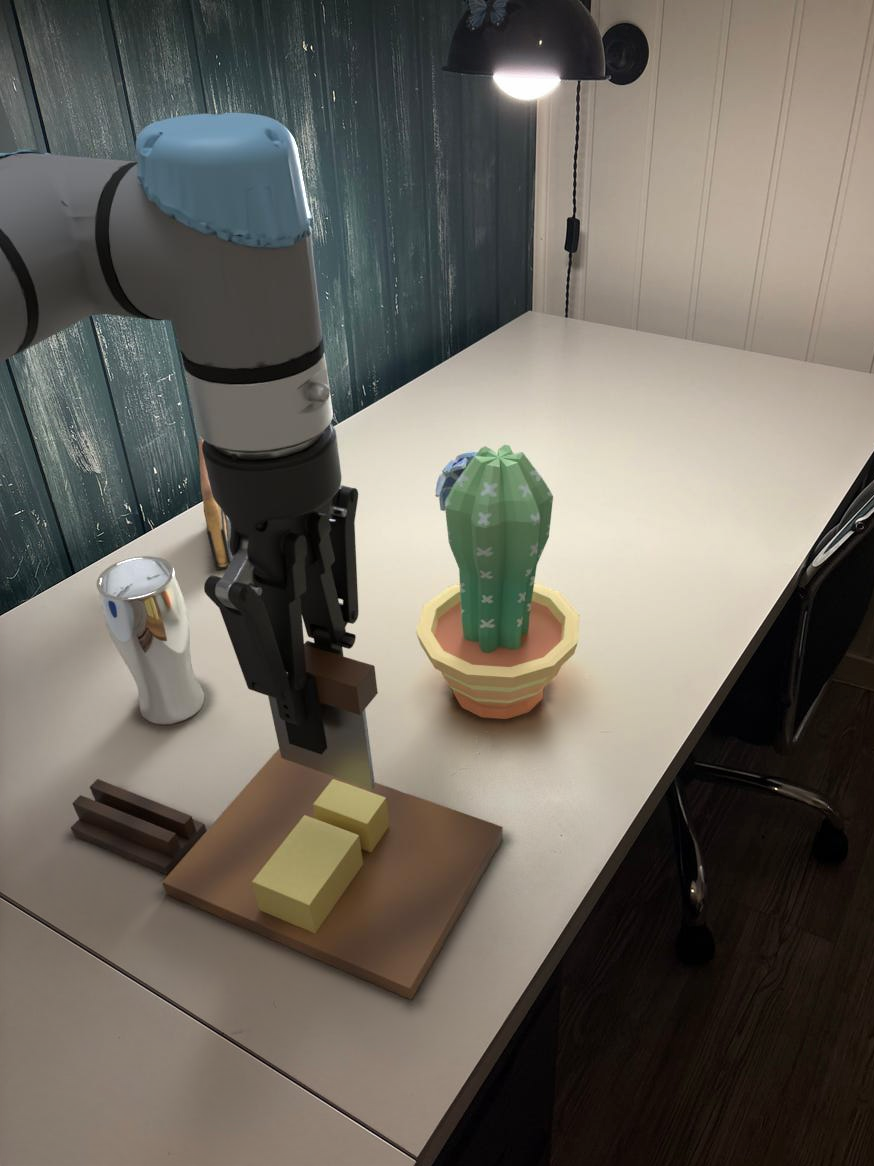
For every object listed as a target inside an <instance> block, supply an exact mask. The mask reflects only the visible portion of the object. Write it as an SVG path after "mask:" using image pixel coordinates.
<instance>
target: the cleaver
mask: <svg viewBox="0 0 874 1166" xmlns="http://www.w3.org/2000/svg"><path fill="white" fill-rule="evenodd" d="M304 650H305V663H306V675H307V676H311V677H314V678H316V684H317V690H318V696H319V702H320V707H321V713H322V718H323V724H324V730H325V736H326V742H327V749H326V750H325V751H324V753H323V754H322V755H321V754H318V753H315V752H312V751H309V750H306V749H304V748H301V747H298V746H295V745H292V744H289V740H288V735H287V730H286V725H285V721H284V720H282V719H281V718H280V716H279V710H278V707H277V706H278V705H277V702H276V698H274V697H271V696H268V695H267V697H268V701H269V702H268V703H269V706H270V711H271V717H272V720H273V725H274V731H275V735H276V739H277V744H278V749H280V754H281V758H283V759H286V760H288V761H291V762H294V763H297V764H300V765H303V766H306V767H308V768H311V769H314V770H317V771H320V772H323V773H326V774H328V775H331V776H334V777H337V778H340V779H343V780H345V781H348V782H351V783H354V784H357V785H360V786H363V787H365V788H368V789H371V790H373V789H374V787H375V782H376V781H375V775H374V768H373V759H372V752H371V744H370V736H369V727H368V722H367V721H368V720H367V713H366V708H367V707H368V706H369V704H370V703H371V702H372V701H373V700H374V698H375V697H376V696H377V695H378V693H379V692H378V684H377V675H376V668H375V665H373V664H370V663H366V662H364V661H360V660H357V659H354V658H350V657H346V656H344V655H343V656H340V655H337V654H334V653H330V652H327V651H324V650H320V649H317V648H313V647H310V646H307V645H304Z"/></svg>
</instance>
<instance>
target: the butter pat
mask: <svg viewBox="0 0 874 1166" xmlns="http://www.w3.org/2000/svg"><path fill="white" fill-rule="evenodd" d="M313 806H314V811H315V817H316V820H319V821H322V822H324V823H327V824H330V825H332V826H335V827H338V828H340V829H343V830H346V831H348V832H351V833H354V834H356V835H359V839H360V845H361V849H363V850H366V851H368V852H372V851H373V849H374V848H375V846H376V845H377V843H378V842H379V840H380V839H381V837H382V836H383V835H384V833H385V832H386V830H387V829H388V827H389V820H388V811H387V802H386V798H385V797H382V796H380V795H377V794H374V793H371V792H368V791H365V790H363V789H360V788H357V787H354V786H351V785H349V784H346V783H343V782H340V781H337V780H334V779H333V780H332V781H331V782H330V783H329V785H328V786H327V787H326V788H325V790H324V791H323V792H322V794H321V795H320V796H319V797H318V799H317V800H316V801H315V802H314V804H313Z"/></svg>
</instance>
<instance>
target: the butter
mask: <svg viewBox="0 0 874 1166" xmlns="http://www.w3.org/2000/svg"><path fill="white" fill-rule="evenodd" d="M362 865H363V859H362V852H361V845H360V839H359V835H356V834H354V833H351V832H348V831H346V830H343V829H340V828H338V827H335V826H332V825H330V824H327V823H324V822H322V821H319V820H316V819H314V818H311V817H308V816H306V815H304V816H303V818H302V819H301V820H300V821H299V823H298V824H297V825H296V826H295V828H294V829H293V830H292V831H291V833H290V834H289V835H288V837H287V838H286V839H285V840H284V842H283V843H282V844H281V845H280V847H279V848H278V849H277V851H276V852H275V853H274V854H273V856H272V857H271V858H270V859H269V861H268V862H267V863H266V864H265V866H264V867H263V868H262V870H261V871H260V872H259V873H258V875H257V876H256V877H255V878H254V880H253V881H252V884H253V887H254V891H255V895H256V899H257V902H258V906H259V910H260V911H263V912H265V913H268V914H270V915H272V916H275V917H277V918H279V919H282V920H284V921H286V922H289V923H291V924H294V925H296V926H298V927H301V928H303V929H305V930H308V931H310V932H312V933H316V932H317V930H318V929H319V927H320V926H321V924H322V923H323V922H324V920H325V919H326V917H327V916H328V914H329V913H330V911H331V910H332V909H333V907H334V906H335V904H336V903H337V901H338V900H339V898H340V897H341V895H342V894H343V893H344V891H345V890H346V888H347V887H348V885H349V884H350V882H351V881H352V880H353V878H354V877H355V875H356V874H357V872H358V871H359V869H360V868H361V867H362Z"/></svg>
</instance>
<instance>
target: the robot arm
mask: <svg viewBox="0 0 874 1166" xmlns="http://www.w3.org/2000/svg"><path fill="white" fill-rule="evenodd" d="M298 151H299V150H298V146H297V143H296V141H295V138H294V136H293V134H292V133H291V132H290V131H289V129H288V128H287V127H286V126H285V125H284V124H283V123H281V122H280V121H278V120H277V119H275V118H272V117H269V116H267V115H262V114H256V113H246V112H224V113H214V114H213V113H194V114H186V115H181V116H174V117H169V118H165V119H161V120H157V121H155V122H152V123H150V124H148V125H146V126H145V127H143V128H142V130H141V131H140V132H139V133H138V135H137V138H136V139H135V153H136V159H137V161H131V160H122V159H121V160H120V159H108V158H107V159H106V158H95V157H94V158H93V157H84V156H83V157H82V156H72V155H71V156H70V155H59V154H53V153H50V152H41V151H38V149H37V150H36V149H19V148H18V149H17V150H15V151H12V152H0V363H2V362H4V361H6V360H8V359H9V358H11V357H13V356H15V355H18V354H21V353H23V352H24V351H26V350H28V349H30V348H32V347H33V346H36V345H37V344H39V343H41V342H43V341H45V340H47V339H49V338H51V337H54V336H55V335H57V334H59V333H60V332H62V331H64V330H66V329H68V328H70V327H71V326H73V325H75V324H78V323H79V322H81V321H83V320H85V319H86V318H89V317H94V316H100V315H107V316H117V317H118V316H119V317H125V318H135V319H142V320H152V321H169V322H172V324H173V328H174V333H175V337H176V340H177V344H178V348H179V352H180V355H181V359H182V364H183V369H184V373H185V374H184V375H185V379H186V380H185V381H186V384H187V388H188V394H189V398H190V404H191V407H192V412H193V417H194V422H195V427H196V430H197V432H198V435H199V437H200V438H202V439H203V440H204V441H203V444H202V451H203V456H204V460H205V465H206V469H207V474H208V478H209V483H210V487H211V492H212V495H213V498H214V500H215V501H216V503H217V504H218V505H219V506H220V508H221V509H222V510H223V511H224V513H225V514H226V517H227V520H228V521H229V524H230V533H229V547H230V552H231V557H232V558H231V562H230V564H229V566H228V568H225V572H224V573H223V575H222V577H221V576H218V575H209V576H208V577H207V578H206V580H205V581H204V586H203V591H204V593H205V595H206V596H207V597H208V598H209V599H210V600H211V601H212V602H213V603H214V604H215V605H216V606H217V607H218V609H219V612H220V615H221V618H222V620H223V623H224V626H225V628H226V631H227V634H228V637H229V639H230V642H231V645H232V648H233V651H234V653H235V657H236V660H237V661H238V665H239V667H240V670H241V673H242V676H243V678H244V681H245V683H246V684H245V685H246V687H247V689H248V690H250V691H253V692H255V693H259V694H262V695H264V696H267V697H268V696H271V697H274V698H276V702H277V705H278V706H277V707H278V710H279V716H280V718H281V719H282V720H284V721H285V725H286V730H287V735H288V740H289V744H292V745H295V746H298V747H301V748H304V749H306V750H309V751H312V752H315V753H318V754H321V755H322V754H323V753H324V751H325V750H326V749H327V742H326V736H325V730H324V724H323V718H322V713H321V707H320V702H319V696H318V690H317V684H316V678H314V677H311V676H307V675H306V663H305V650H304V645H307V646H310V647H313V648H317V649H320V650H324V651H327V652H330V653H334V654H337V655H340V656H344V650H343V648H345V649H348V650H350V649H352V648H353V646H354V645H355V642H356V639H357V637H356V636H357V635H356V634H355V633H351V632H348V631H347V630H346V627H347V625H348V624H351V625H353V624H355V623H356V622H357V620H358V618H359V611H360V610H359V591H358V571H357V548H356V546H357V545H356V525H355V524H356V523H355V522H356V515H357V507H358V502H359V501H358V500H359V490H358V489H357V488H356V487H352V486H347V485H342V469H341V461H340V452H339V445H338V436H337V430H336V429H335V426H334V425H333V424H332V420H333V417H334V412H333V411H334V409H333V403H332V397H331V396H332V395H331V389H330V383H329V375H328V367H327V360H326V353H325V352H326V351H325V342H324V332H323V331H322V322H321V315H320V304H319V295H318V286H317V276H316V268H315V259H314V258H315V257H314V248H313V239H312V234H313V231H312V228H314V221H313V220H314V219H313V216H312V211H311V209H310V207H309V204H308V199H307V195H306V189H305V183H304V179H303V171H302V167H301V161H300V157H299V152H298ZM339 600H342V602H340V601H339ZM303 624H304V627H305V631H306V634H307V637H308V638H311V639H313V641H310V640H306V641H305V639H304V637H305V636H304V627H303Z"/></svg>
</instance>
